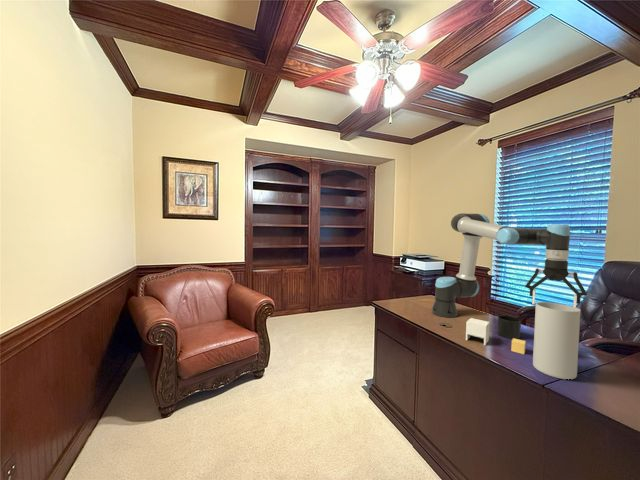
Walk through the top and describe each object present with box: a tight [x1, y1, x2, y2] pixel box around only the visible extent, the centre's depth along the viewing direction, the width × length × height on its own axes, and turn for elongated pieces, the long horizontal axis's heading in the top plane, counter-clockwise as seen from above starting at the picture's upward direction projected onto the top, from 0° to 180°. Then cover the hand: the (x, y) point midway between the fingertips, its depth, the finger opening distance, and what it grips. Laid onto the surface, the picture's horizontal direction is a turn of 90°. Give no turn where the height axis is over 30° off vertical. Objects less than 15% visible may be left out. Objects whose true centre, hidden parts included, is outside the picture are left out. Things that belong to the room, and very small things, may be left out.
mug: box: [496, 315, 522, 340], centre depth 134 cm, size 9×12×9 cm
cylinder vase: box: [532, 301, 581, 381], centre depth 99 cm, size 12×12×25 cm
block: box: [510, 338, 527, 355], centre depth 116 cm, size 4×4×4 cm
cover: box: [465, 317, 491, 346], centre depth 127 cm, size 8×8×9 cm
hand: (553, 307), depth 116 cm, fingers open, 13 cm apart
